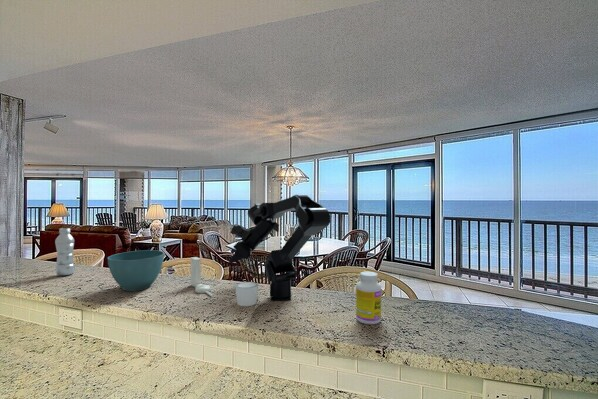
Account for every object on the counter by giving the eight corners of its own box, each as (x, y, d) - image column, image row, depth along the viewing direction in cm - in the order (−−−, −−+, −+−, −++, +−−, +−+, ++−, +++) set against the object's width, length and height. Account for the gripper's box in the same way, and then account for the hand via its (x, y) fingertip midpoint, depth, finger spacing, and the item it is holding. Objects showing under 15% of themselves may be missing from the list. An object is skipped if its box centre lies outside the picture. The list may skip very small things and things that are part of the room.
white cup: (246, 313, 86) (246, 289, 85) (230, 308, 90) (230, 285, 90) (262, 306, 91) (262, 284, 91) (247, 301, 95) (247, 280, 95)
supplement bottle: (376, 327, 77) (376, 278, 77) (352, 321, 80) (352, 274, 80) (384, 318, 82) (384, 272, 82) (361, 313, 86) (361, 269, 86)
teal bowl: (132, 299, 98) (132, 262, 97) (95, 292, 104) (95, 257, 104) (174, 283, 114) (174, 252, 114) (140, 278, 121) (140, 248, 121)
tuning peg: (200, 283, 110) (200, 256, 110) (219, 295, 97) (219, 264, 97) (186, 285, 107) (186, 258, 107) (204, 298, 94) (204, 267, 93)
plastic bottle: (67, 277, 123) (66, 229, 123) (51, 277, 123) (50, 229, 123) (79, 273, 130) (78, 227, 129) (63, 273, 130) (63, 227, 129)
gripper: (248, 214, 117) (220, 242, 116) (239, 218, 98) (206, 252, 98) (268, 234, 117) (240, 262, 117) (263, 242, 98) (230, 275, 98)
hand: (229, 262), depth 107 cm, fingers closed
